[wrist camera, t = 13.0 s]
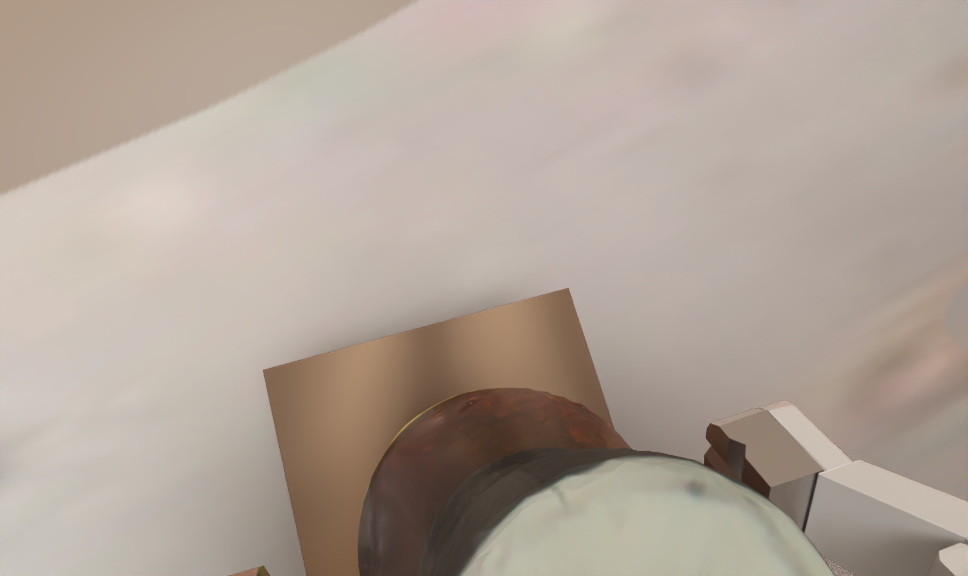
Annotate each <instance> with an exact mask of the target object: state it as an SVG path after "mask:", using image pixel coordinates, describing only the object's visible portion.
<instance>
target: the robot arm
mask: <svg viewBox="0 0 968 576" xmlns="http://www.w3.org/2000/svg"><path fill="white" fill-rule="evenodd" d="M706 439H707V440H708V442H709V443H710V444H711V445H712V446H711V447H710V448H709V450H708V451H707V452H706V454H705V455H704V465H706V466H708V467H711V468H713V469H715V470H717V471H720V472H722V473H724V474H727V475H729V476H731V477H733V478H736V479H738V480H740V481H741V482H743V483H744V484H746V485H747V486H749V487H751V488H752V489H754V490H755V491H757V492H758V493H760V494H762V495H763V496H765V497H766V498H768V499H770V500H771V501H772V502H773V503H774V504H775V505H776V506H778V507H779V508H780V509H781V510H782V511H783V512H784V513H786V514H787V515H788V516H789V517H790V518H791V519H792V520H794V521H795V522H796V524H797V525H798V526H799V528H800V529H801V530H802V531H803V533H804V534H805V535H806V536H807V537H808V539H809V540H810V541H811V542H812V543H813V544H814V546H815V547H816V549H817V550H818V552H819V553H820V554H821V555H823V556H824V557H826V558H828V559H829V560H831V561H833V562H834V563H836V564H838V565H839V566H841V567H843V568H844V569H846V570H848V571H849V572H851V573H853V574H854V575H856V576H968V502H967V501H964V500H962V499H959V498H957V497H954V496H952V495H949V494H947V493H944V492H941V491H939V490H936V489H934V488H931V487H929V486H926V485H924V484H921V483H918V482H916V481H913V480H911V479H908V478H906V477H903V476H900V475H898V474H895V473H893V472H890V471H888V470H885V469H883V468H880V467H877V466H875V465H872V464H870V463H867V462H865V461H862V460H856V461H853V462H852V461H851V460H850V459H849V458H848V457H847V456H846V455H845V454H844V453H843V452H842V451H841V450H840V449H839V448H838V447H836V446H835V445H834V444H833V443H832V442H831V441H830V440H829V439H828V438H827V437H826V436H825V435H824V434H823V433H822V432H821V431H820V430H819V429H818V428H817V427H816V426H815V425H814V424H813V423H812V422H810V421H809V420H808V419H807V418H806V417H805V416H804V415H803V414H802V413H801V412H800V411H799V410H798V409H797V408H796V407H795V406H794V405H793V404H792V403H790V402H788V401H785V400H783V401H779V402H776V403H773V404H770V405H767V406H764V407H760V408H755V409H752V410H749V411H746V412H743V413H740V414H737V415H734V416H731V417H728V418H725V419H722V420H719V421H716V422H713V423H710V425H709V426H708V428H707V432H706ZM229 576H270V575H269V573H268V572H267V570H266V569H265V567H264V566H260V567H257V568H253V569H250V570H247V571H243V572H240V573H236V574H233V575H229Z"/></svg>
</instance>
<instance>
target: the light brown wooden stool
mask: <svg viewBox="0 0 968 576" xmlns="http://www.w3.org/2000/svg"><path fill="white" fill-rule="evenodd" d="M263 373H264V378H265V382H266V387H267V392H268V396H269V401H270V406H271V410H272V415H273V420H274V424H275V429H276V434H277V438H278V443H279V448H280V452H281V457H282V462H283V467H284V471H285V476H286V481H287V485H288V490H289V495H290V499H291V504H292V509H293V513H294V518H295V523H296V527H297V532H298V537H299V541H300V546H301V551H302V555H303V560H304V565H305V569H306V574H307V576H360V573H359V568H358V545H357V544H358V531H359V523H360V516H361V510H362V505H363V501H364V498H365V494H366V491H367V488H368V485H369V482H370V480H371V477H372V475H373V473H374V471H375V469H376V466H377V464H378V462H379V460H380V459H381V457H382V456H383V454H384V453H385V451H386V449H387V448H388V446H389V445H390V443H391V442H392V440H393V439H394V437H395V436H396V435H397V434H398V432H399V431H400V430H401V429H402V428H403V427H404V426H405V425H406V424H407V423H409V422H410V421H411V420H412V419H414V418H415V417H416V416H417V415H419V414H421V413H422V412H424V411H426V410H427V409H429V408H431V407H432V406H434V405H436V404H438V403H440V402H442V401H444V400H446V399H448V398H450V397H452V396H456V395H459V394H463V393H466V392H470V391H474V390H481V389H491V388H529V389H532V390H537V391H544V392H549V393H550V394H552V395H556V396H561V397H565V398H567V399H568V400H570V401H572V402H577V403H581V404H582V405H584V406H585V407H586V408H588V409H589V410H590V411H592V412H593V413H595V414H597V415H598V416H599V417H600V418H602V419H603V420H604V421H605V422H607V423H608V424H610V426H611V427H612V428H613V429H614V426H613V423H612V420H611V417H610V414H609V411H608V408H607V405H606V402H605V399H604V396H603V393H602V390H601V387H600V383H599V380H598V377H597V374H596V371H595V368H594V365H593V362H592V359H591V356H590V353H589V350H588V347H587V344H586V340H585V337H584V334H583V331H582V328H581V325H580V322H579V319H578V316H577V313H576V310H575V307H574V304H573V300H572V297H571V294H570V291H569V288H566V289H563V290H559V291H555V292H551V293H548V294H544V295H540V296H537V297H533V298H529V299H525V300H522V301H518V302H514V303H510V304H507V305H503V306H499V307H496V308H492V309H488V310H484V311H481V312H477V313H473V314H470V315H466V316H462V317H458V318H455V319H451V320H447V321H444V322H440V323H436V324H432V325H429V326H425V327H421V328H417V329H414V330H410V331H406V332H403V333H399V334H395V335H391V336H388V337H384V338H380V339H377V340H373V341H369V342H365V343H362V344H358V345H354V346H350V347H347V348H343V349H339V350H336V351H332V352H328V353H324V354H321V355H317V356H313V357H310V358H306V359H302V360H298V361H295V362H291V363H287V364H284V365H280V366H276V367H272V368H269V369H265V370H263Z"/></svg>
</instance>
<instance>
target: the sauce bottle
mask: <svg viewBox="0 0 968 576" xmlns="http://www.w3.org/2000/svg"><path fill="white" fill-rule="evenodd" d="M357 545H358V568H359V573H360V576H835V575H834V573H833V572H832V571H831V569H830V568H829V566H828V565H827V563H826V562H825V560H824V559H823V557H822V556H821V555H820V553H819V552H818V550H817V549H816V547H815V546H814V544H813V543H812V542H811V541H810V540H809V539H808V537H807V536H806V535H805V534H804V533H803V531H802V530H801V529H800V528H799V526H798V525H797V524H796V522H795V521H794V520H792V519H791V518H790V517H789V516H788V515H787V514H786V513H784V512H783V511H782V510H781V509H780V508H779V507H778V506H776V505H775V504H774V503H773V502H772V501H771V500H770V499H768V498H766V497H765V496H763V495H762V494H760V493H758V492H757V491H755V490H754V489H752V488H751V487H749V486H747V485H746V484H744V483H743V482H741V481H740V480H738V479H736V478H733V477H731V476H729V475H727V474H724V473H722V472H720V471H717V470H715V469H713V468H711V467H708V466H706V465H704V464H702V463H699V462H697V461H695V460H691V459H686V458H682V457H677V456H673V455H668V454H664V453H658V452H650V451H636V450H632V449H631V448H630V447H629V445H628V444H627V443H626V442H625V441H624V440H623V438H622V437H621V436H620V435H619V434H618V433H617V432H616V431H615V430H614V429H613V428H612V427H611V426H610V424H608V423H607V422H605V421H604V420H603V419H602V418H600V417H599V416H598V415H597V414H595V413H593V412H592V411H590V410H589V409H588V408H586V407H585V406H584V405H582V404H581V403H577V402H572V401H570V400H568V399H567V398H565V397H561V396H556V395H552V394H550V393H549V392H544V391H537V390H532V389H529V388H491V389H481V390H474V391H470V392H466V393H463V394H459V395H456V396H452V397H450V398H448V399H446V400H444V401H442V402H440V403H438V404H436V405H434V406H432V407H431V408H429V409H427V410H426V411H424V412H422V413H421V414H419V415H417V416H416V417H415V418H414V419H412V420H411V421H410V422H409V423H407V424H406V425H405V426H404V427H403V428H402V429H401V430H400V431H399V432H398V434H397V435H396V436H395V437H394V439H393V440H392V442H391V443H390V445H389V446H388V448H387V449H386V451H385V453H384V454H383V456H382V457H381V459H380V460H379V462H378V464H377V466H376V469H375V471H374V473H373V475H372V477H371V480H370V482H369V485H368V488H367V491H366V494H365V498H364V501H363V505H362V510H361V516H360V523H359V531H358V544H357Z"/></svg>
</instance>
